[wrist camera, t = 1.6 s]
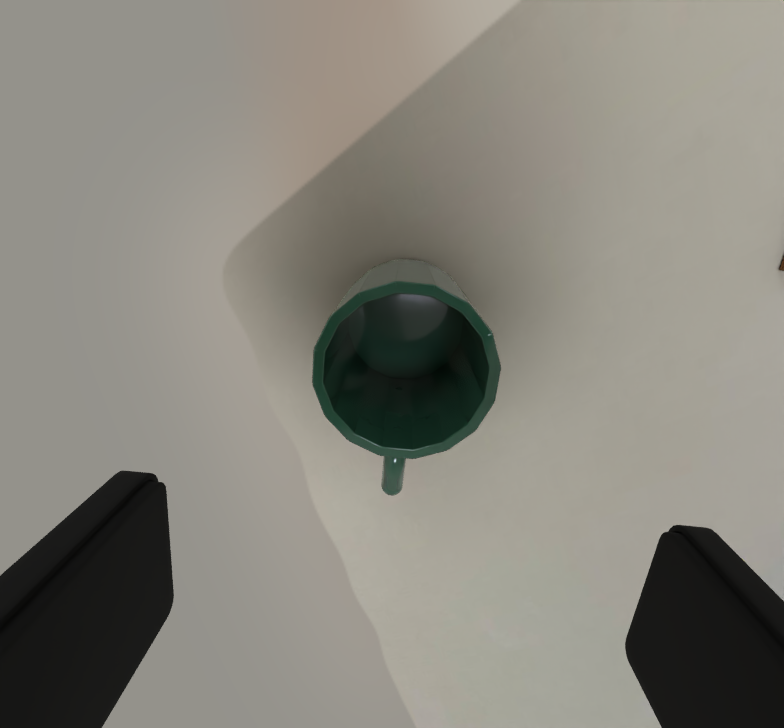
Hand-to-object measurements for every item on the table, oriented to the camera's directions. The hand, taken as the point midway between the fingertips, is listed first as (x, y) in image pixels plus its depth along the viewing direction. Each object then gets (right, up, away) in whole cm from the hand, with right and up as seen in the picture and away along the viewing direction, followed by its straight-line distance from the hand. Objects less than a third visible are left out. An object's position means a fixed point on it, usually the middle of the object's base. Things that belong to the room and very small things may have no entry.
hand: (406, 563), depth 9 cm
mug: (0, +5, +18) cm, 19 cm away
